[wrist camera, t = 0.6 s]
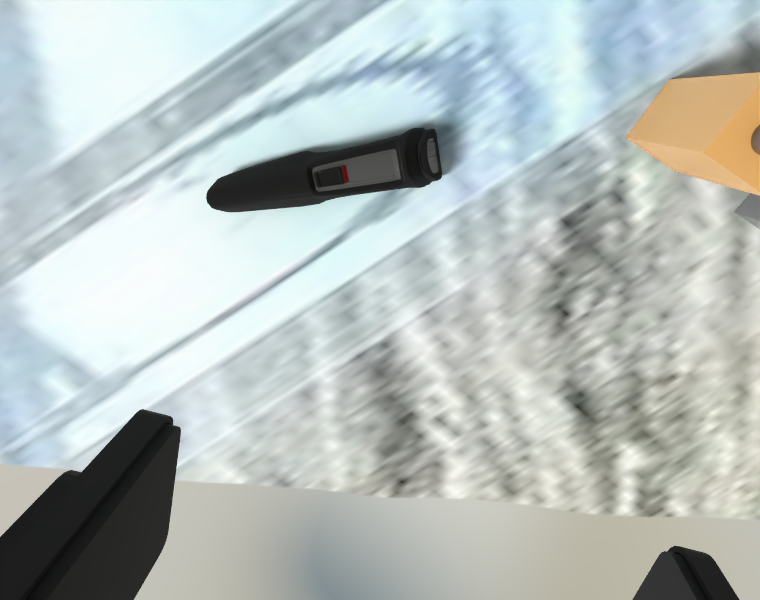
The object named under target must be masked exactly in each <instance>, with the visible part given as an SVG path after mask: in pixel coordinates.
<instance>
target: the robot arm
mask: <svg viewBox="0 0 760 600" xmlns="http://www.w3.org/2000/svg"><path fill="white" fill-rule="evenodd" d="M180 435H181V429H180V427H177V426H174V425H173V418H172V417H171V416H167V415H163V414H159V413H155V412H152V411H148V410H144V409H142V410H139V411H138V412H137V413H136V414H135V415H134V416H133V417H132V418H131V419H130V420H129V421H128V423H127V424H126V425H125V426H124V427H123V428H122V429H121V430H120V431H119V432H118V433H117V434H116V436H115V437H114V438H113V439H112V440H111V441H110V442H109V443H108V444H107V445H106V446H105V447H104V448H103V450H102V451H101V452H100V453H99V454H98V455H97V456H96V457H95V458H94V459H93V460H92V461H91V463H90V464H89V465H88V466H87V467H86V468H85V469H84V470H83V471H82V472H77V471H73V470H70V471H67V472H65V473H63V474H62V475H61V476H60V477H59V478H57V479H56V480H55V481H54V482H53V483H52V485H50V486H49V488H48V489H47V490H46V491H45V492H44V493H43V494H42V495H41V496H40V497H39V498H38V499H37V500H36V501H35V502H34V503H33V504H32V505H31V506H30V507H29V508H28V509H27V510H26V511H25V512H24V513H23V514H22V515H21V516H20V517H19V518H18V519H17V520H16V521H15V522H14V523H13V525H12V526H11V527H10V528H9V529H8V530H7V531H6V532H5V533H4V534H3V535H2V536H1V537H0V600H134V598H135V596H136V595H137V593H138V591H139V589H140V588H141V586H142V584H143V583H144V581H145V579H146V577H147V576H148V574H149V572H150V571H151V569H152V567H153V566H154V564H155V562H156V560H157V559H158V557H159V555H160V553H161V551H162V549H163V547H164V545H165V542H166V539H167V535H168V530H169V522H170V514H171V506H172V498H173V490H174V482H175V474H176V466H177V458H178V451H179V443H180ZM633 600H739V598H738V597H737V595H736V594H735V592H734V591H733V589H732V587H731V586H730V584H729V583H728V581H727V579H726V578H725V576H724V575H723V573H722V572H721V570H720V568H719V567H718V565H717V564H716V562H715V561H714V559H713V558H712V557H711V556H710V555H708V554H706V553H703V552H699V551H695V550H691V549H687V548H683V547H679V546H674V547H672V548H670V549H669V550H668V551H667V552H665V551H664V552H662V553H661V554H660V555H659V557H658V558H657V560H656V561H655V563H654V565H653V566H652V568H651V570H650V571H649V573H648V575H647V576H646V578H645V580H644V582H643V583H642V585H641V586H640V588H639V590H638V591H637V593H636V595H635V597H634V598H633Z"/></svg>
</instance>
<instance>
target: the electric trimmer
mask: <svg viewBox="0 0 760 600" xmlns="http://www.w3.org/2000/svg"><path fill="white" fill-rule="evenodd" d="M441 177H442V170H441V163H440V156H439V150H438V143H437V136H436V132H435V130H434V129H430V130H424V129H423V128H414V129H411V130H409V131H407V132H405V133H404V134H402V135H400V136H396V137H392V138H388V139H384V140H380V141H376V142H372V143H368V144H364V145H360V146H356V147H351V148H347V149H342V150H336V151H329V152H323V153H315V152H309V151H305V152H300V153H296V154H292V155H289V156H286V157H283V158H279V159H276V160H273V161H270V162H266V163H263V164H260V165H257V166H253V167H250V168H247V169H244V170H241V171H237V172H234V173H231V174H229V175H226V176H223V177H221V178H219V179H218V180H217V181H216V182H215V183H214V184H213V185H212V186H211V187H210V189H209V190H208V192H207V197H206V199H207V203H208V204H209V205H210V206H211V207H212V208H214V209H216V210H220V211H225V212H244V211H256V210H267V209H278V208H289V207H300V206H308V205H314V204H320V203H322V202H324V201H326V200H330V199H334V198H339V197H345V196H351V195H357V194H365V193H372V192H380V191H387V190H394V189H402V188H421V187H424V186H426V185H429V184H430V183H431V182H432V181H437V180H439V179H441ZM313 178H314V179H313Z"/></svg>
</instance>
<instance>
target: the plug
mask: <svg viewBox="0 0 760 600" xmlns="http://www.w3.org/2000/svg"><path fill="white" fill-rule="evenodd" d="M626 138H627V139H628V140H630V141H631V142H633V143H634V144H636V145H637V146H639V147H640V148H642V149H643V150H645V151H646V152H647V153H649V154H650V155H652V156H653V157H655V158H656V159H658V160H659V161H661V162H662V163H664V164H665V165H667V166H668V167H669V168H671V169H672V170H674V171H676V172H679V173H683V174H686V175H690V176H693V177H697V178H700V179H704V180H707V181H710V182H714V183H717V184H721V185H724V186H728V187H731V188H735V189H738V190H741V191H745V192H748V193H752V194H755V195H759V196H760V72H756V73H743V74H731V75H718V76H705V77H693V78H680V79H670V80H669V81H668V82H667V84H666V85H665V86H664V88H663V89H662V90H661V92H660V93H659V94H658V96H657V97H656V98H655V100H654V101H653V102H652V103H651V105H650V106H649V107H648V109H647V110H646V111H645V113H644V114H643V115H642V117H641V118H640V119H639V121H638V122H637V123H636V125H635V126H634V127H633V129H632V130H631V131H630V132H629V134H628V135H627V136H626Z"/></svg>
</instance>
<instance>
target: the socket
mask: <svg viewBox="0 0 760 600" xmlns="http://www.w3.org/2000/svg"><path fill="white" fill-rule="evenodd" d="M735 212H736V213H737V214H738V215H740V216H741V217H743V218H744V219H746V220H747V221H749V222H750V223H752V224H753V225H755V226H756V227H758V228H759V229H760V196H759V195H755V194H752V193H751V194H750V195H749V196H748V197H747V198H746V199H745V201H744V202H743V203H742V204H741V205H740V206H739V207H738V208H737V209H736V211H735Z"/></svg>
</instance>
